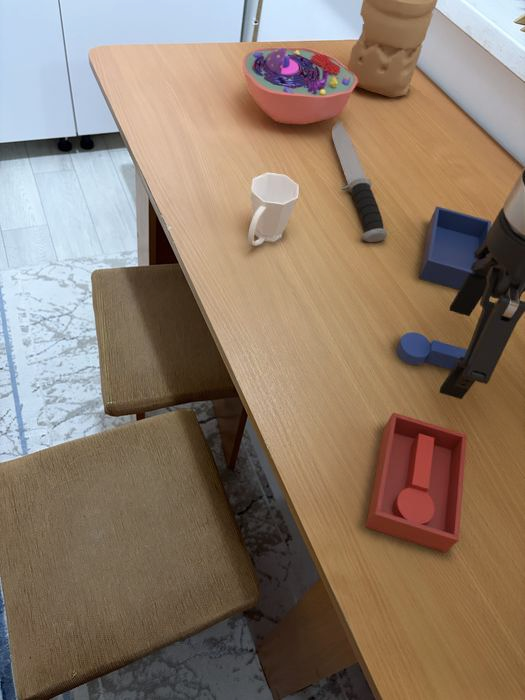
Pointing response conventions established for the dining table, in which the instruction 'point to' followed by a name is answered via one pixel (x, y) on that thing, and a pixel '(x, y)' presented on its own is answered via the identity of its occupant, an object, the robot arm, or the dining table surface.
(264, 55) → the cell model
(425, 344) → the blue spoon
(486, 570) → the dining table surface
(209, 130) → the dining table surface
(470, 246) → the blue bin
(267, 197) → the cup
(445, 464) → the red bin
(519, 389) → the dining table surface
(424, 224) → the dining table surface
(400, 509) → the red spoon
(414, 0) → the container
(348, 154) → the knife
